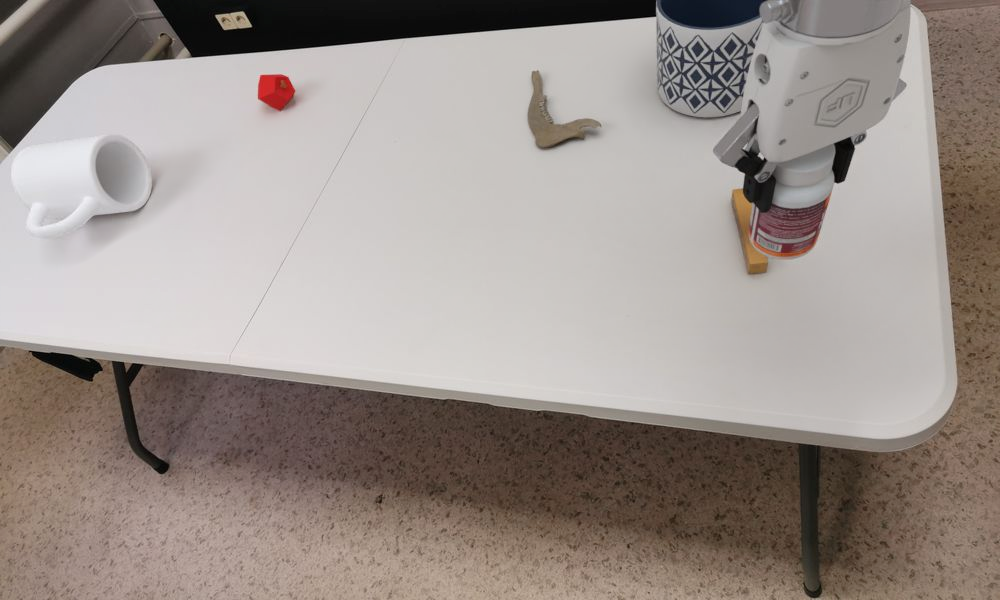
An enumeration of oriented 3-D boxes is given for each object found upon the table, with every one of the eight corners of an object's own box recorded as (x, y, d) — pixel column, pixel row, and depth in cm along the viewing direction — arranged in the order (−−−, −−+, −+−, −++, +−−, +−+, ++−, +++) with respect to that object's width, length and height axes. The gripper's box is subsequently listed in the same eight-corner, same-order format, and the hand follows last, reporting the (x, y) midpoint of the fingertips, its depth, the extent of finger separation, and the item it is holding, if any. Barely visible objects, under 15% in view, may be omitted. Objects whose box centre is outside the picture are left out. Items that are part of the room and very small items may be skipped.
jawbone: (553, 165, 91) (550, 155, 89) (492, 101, 103) (488, 91, 102) (604, 133, 91) (602, 122, 90) (537, 73, 104) (533, 63, 102)
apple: (239, 86, 112) (260, 76, 107) (266, 69, 116) (287, 59, 111) (262, 120, 116) (283, 112, 110) (287, 103, 119) (309, 95, 114)
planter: (773, 116, 86) (789, 21, 75) (656, 124, 90) (655, 36, 79) (764, 47, 95) (777, -47, 83) (658, 58, 99) (656, -31, 87)
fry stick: (731, 200, 79) (732, 189, 78) (747, 198, 79) (749, 187, 77) (748, 274, 73) (749, 264, 71) (766, 272, 72) (768, 262, 71)
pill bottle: (828, 253, 57) (858, 164, 48) (761, 269, 58) (779, 183, 49) (800, 207, 61) (823, 115, 52) (737, 222, 62) (750, 134, 53)
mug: (91, 182, 115) (34, 128, 105) (163, 173, 111) (112, 117, 101) (39, 263, 104) (-29, 213, 94) (118, 256, 101) (55, 203, 90)
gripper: (745, 70, 37) (723, 253, 52) (1008, -34, 37) (914, 178, 52) (686, 13, 42) (681, 196, 56) (921, -80, 42) (856, 127, 56)
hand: (793, 186), depth 54 cm, fingers closed on pill bottle, 6 cm apart
